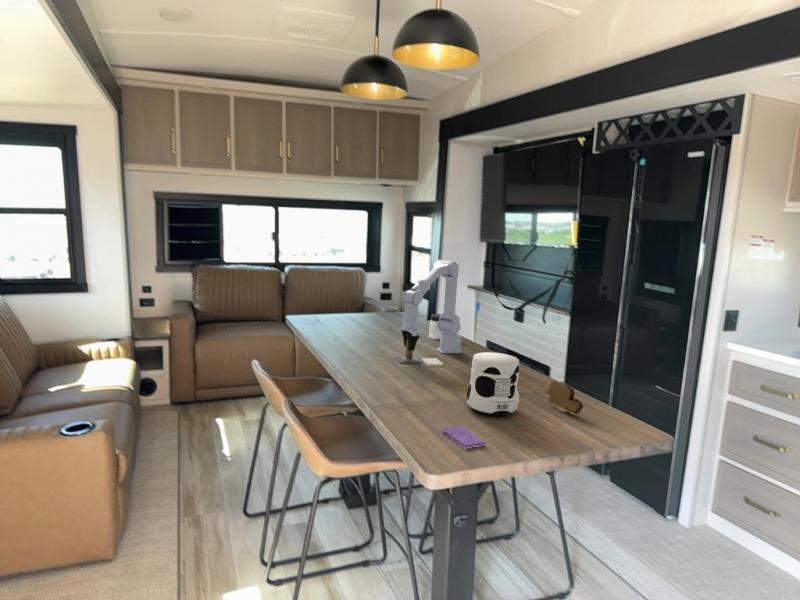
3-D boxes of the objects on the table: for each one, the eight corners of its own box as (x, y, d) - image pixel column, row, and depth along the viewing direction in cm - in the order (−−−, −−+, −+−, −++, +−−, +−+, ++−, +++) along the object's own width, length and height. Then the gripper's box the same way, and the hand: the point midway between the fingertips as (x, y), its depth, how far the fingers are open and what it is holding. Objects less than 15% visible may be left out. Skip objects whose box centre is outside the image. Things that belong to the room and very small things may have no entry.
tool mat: (416, 357, 241) (416, 356, 241) (422, 363, 231) (422, 362, 231) (394, 357, 239) (394, 356, 239) (400, 363, 229) (400, 362, 229)
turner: (415, 358, 237) (416, 339, 236) (419, 361, 231) (420, 342, 230) (400, 358, 236) (401, 339, 234) (403, 362, 230) (404, 342, 228)
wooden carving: (586, 418, 177) (589, 389, 175) (575, 420, 175) (579, 391, 173) (550, 402, 191) (553, 375, 190) (541, 403, 189) (543, 376, 188)
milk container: (482, 397, 192) (486, 348, 189) (526, 410, 181) (531, 359, 178) (455, 409, 179) (459, 357, 176) (501, 424, 168) (506, 368, 165)
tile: (436, 358, 238) (443, 363, 230) (436, 361, 238) (442, 366, 230) (421, 358, 237) (427, 364, 228) (421, 361, 237) (427, 367, 228)
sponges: (464, 451, 148) (465, 444, 147) (441, 433, 159) (441, 427, 159) (485, 447, 151) (486, 441, 151) (461, 430, 162) (461, 424, 162)
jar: (426, 336, 285) (427, 314, 283) (439, 335, 289) (441, 313, 287) (434, 340, 277) (436, 317, 275) (448, 339, 281) (449, 316, 279)
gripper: (398, 314, 238) (396, 344, 240) (406, 321, 224) (404, 352, 226) (413, 314, 240) (411, 344, 242) (422, 321, 226) (420, 352, 228)
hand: (409, 348), depth 234 cm, fingers open, 7 cm apart
